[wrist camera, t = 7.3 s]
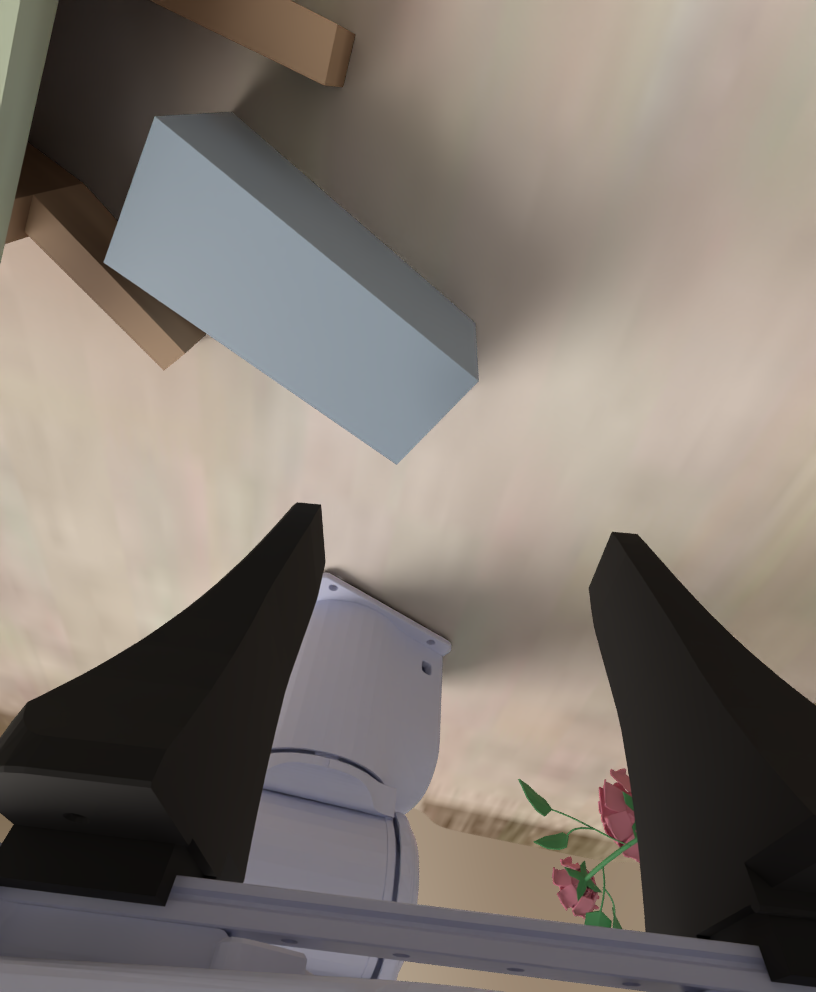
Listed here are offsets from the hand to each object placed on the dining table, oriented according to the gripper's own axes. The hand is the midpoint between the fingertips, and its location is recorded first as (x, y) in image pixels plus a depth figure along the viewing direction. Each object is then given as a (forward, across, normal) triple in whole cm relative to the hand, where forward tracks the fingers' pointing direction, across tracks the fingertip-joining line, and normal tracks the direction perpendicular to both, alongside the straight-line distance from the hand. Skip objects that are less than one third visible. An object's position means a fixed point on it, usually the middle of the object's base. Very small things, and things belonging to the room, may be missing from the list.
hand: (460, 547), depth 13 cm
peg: (+10, +5, -4) cm, 11 cm away
